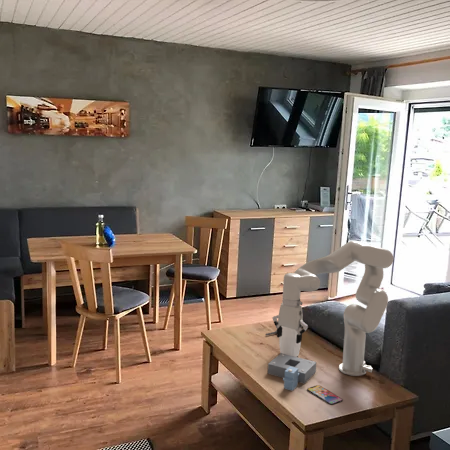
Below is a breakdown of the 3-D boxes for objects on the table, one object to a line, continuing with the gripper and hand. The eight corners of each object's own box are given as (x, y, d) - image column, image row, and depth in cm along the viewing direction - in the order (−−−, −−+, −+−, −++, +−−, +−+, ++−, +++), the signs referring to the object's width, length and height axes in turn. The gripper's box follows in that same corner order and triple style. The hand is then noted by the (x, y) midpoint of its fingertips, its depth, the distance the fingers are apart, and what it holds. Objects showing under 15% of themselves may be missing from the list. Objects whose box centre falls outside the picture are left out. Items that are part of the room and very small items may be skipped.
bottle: (293, 361, 251) (296, 311, 246) (274, 355, 257) (276, 306, 253) (304, 354, 259) (307, 305, 255) (285, 348, 266) (287, 300, 262)
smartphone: (331, 404, 210) (306, 388, 223) (330, 406, 210) (306, 390, 223) (343, 399, 214) (318, 384, 227) (343, 401, 214) (318, 386, 227)
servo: (299, 384, 228) (299, 365, 226) (290, 392, 220) (291, 373, 219) (290, 381, 230) (291, 363, 228) (282, 390, 222) (283, 371, 221)
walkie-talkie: (292, 329, 293) (264, 336, 282) (293, 322, 292) (264, 328, 281) (303, 335, 285) (274, 341, 275) (303, 327, 284) (274, 334, 274)
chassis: (315, 371, 240) (316, 361, 239) (304, 383, 228) (305, 373, 227) (280, 362, 249) (280, 352, 248) (267, 373, 237) (268, 363, 236)
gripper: (313, 304, 221) (310, 342, 224) (278, 295, 231) (276, 332, 234) (304, 308, 215) (302, 347, 218) (269, 299, 225) (267, 336, 228)
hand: (288, 339), depth 226 cm, fingers open, 9 cm apart
